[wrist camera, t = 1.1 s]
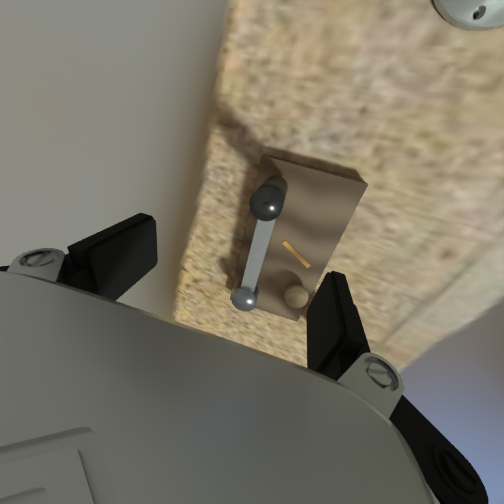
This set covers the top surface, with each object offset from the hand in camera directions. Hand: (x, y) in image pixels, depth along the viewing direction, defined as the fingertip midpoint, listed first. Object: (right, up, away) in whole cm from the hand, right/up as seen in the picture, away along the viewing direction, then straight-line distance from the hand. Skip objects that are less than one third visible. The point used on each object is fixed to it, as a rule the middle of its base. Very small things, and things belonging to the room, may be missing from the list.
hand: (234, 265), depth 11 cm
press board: (+6, +1, +24) cm, 25 cm away
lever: (+2, +1, +22) cm, 22 cm away
